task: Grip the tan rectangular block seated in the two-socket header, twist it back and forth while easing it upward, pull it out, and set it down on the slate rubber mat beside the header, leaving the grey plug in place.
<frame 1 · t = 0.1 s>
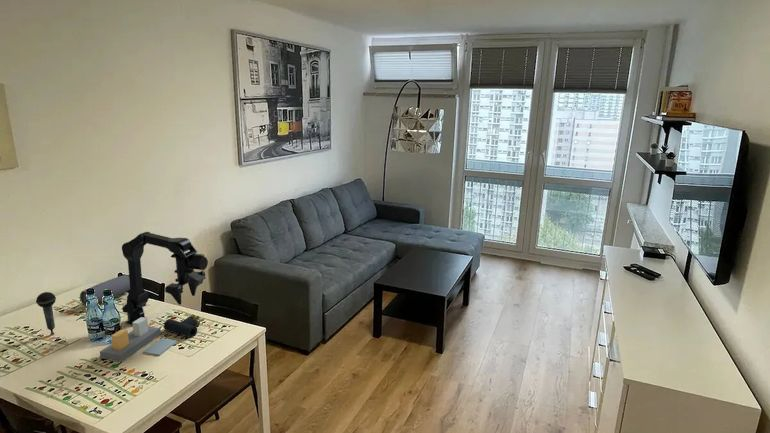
hand: (186, 300, 195), 15 cm above the table, tool pointing down, fingers open, 9 cm apart
pipe connector: (187, 330, 199), on the table
slate mat: (160, 347, 184), on the table
microphone: (52, 335, 191), on the table
grey plug: (142, 339, 190), resting in header
tan rectangular block: (122, 352, 180), resting in header
header: (132, 345, 185), on the table
bluetooth speaker: (108, 300, 225), on the table
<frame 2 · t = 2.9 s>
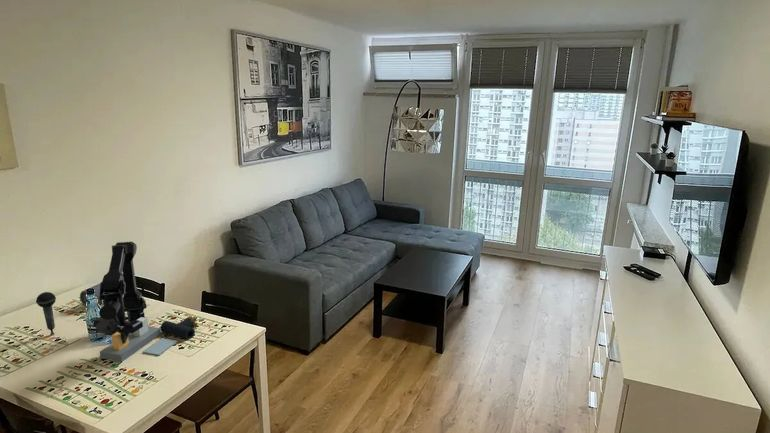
hand: (120, 342, 178), 5 cm above the table, tool pointing down, fingers closed on tan rectangular block, 3 cm apart
pipe connector: (184, 332, 197), on the table
tan rectangular block: (122, 352, 179), resting in header, touching gripper
everything else where it was.
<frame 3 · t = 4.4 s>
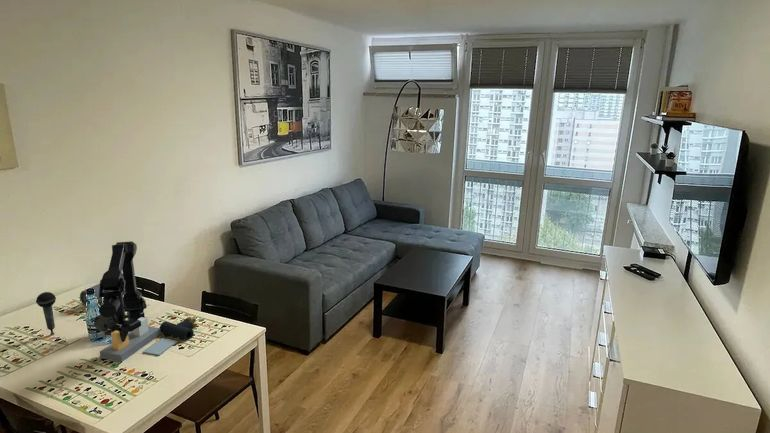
hand: (120, 340, 178), 5 cm above the table, tool pointing down, fingers closed on tan rectangular block, 3 cm apart
tan rectangular block: (121, 350, 179), point 1 cm above the table, touching gripper
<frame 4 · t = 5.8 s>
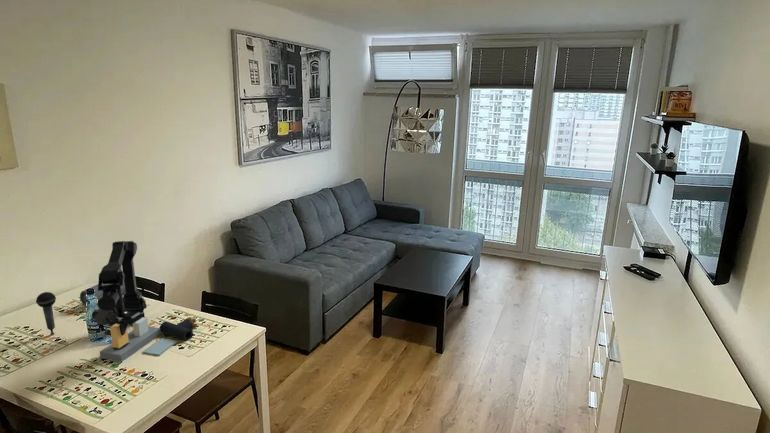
hand: (119, 334, 177), 8 cm above the table, tool pointing down, fingers closed on tan rectangular block, 3 cm apart
tan rectangular block: (120, 344, 178), point 4 cm above the table, touching gripper
everything else where it was.
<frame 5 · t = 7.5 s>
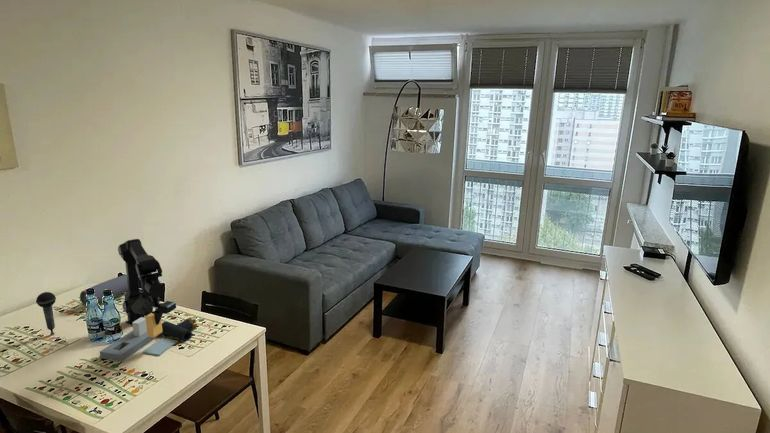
hand: (154, 323, 181), 11 cm above the table, tool pointing down, fingers closed on tan rectangular block, 3 cm apart
tan rectangular block: (155, 333, 182), point 7 cm above the table, touching gripper
when the fingers open (6 cm above the table, at t = 9.0 s): tan rectangular block drops 1 cm, resting on slate mat.
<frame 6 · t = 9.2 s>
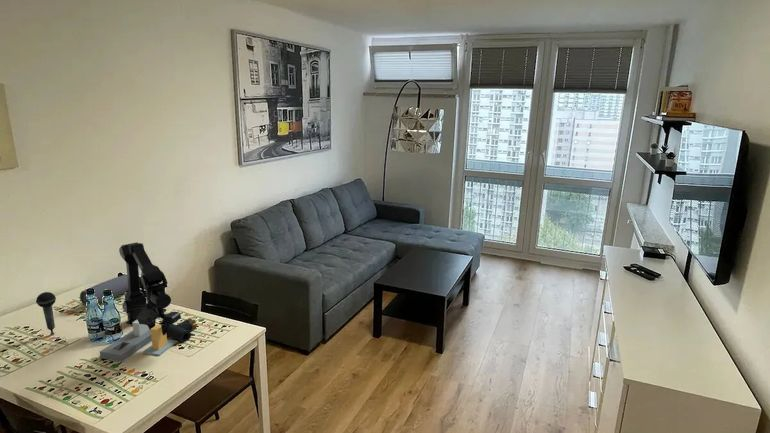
hand: (158, 334, 183), 6 cm above the table, tool pointing down, fingers open, 5 cm apart
tan rectangular block: (160, 346, 184), point 1 cm above the table, touching slate mat
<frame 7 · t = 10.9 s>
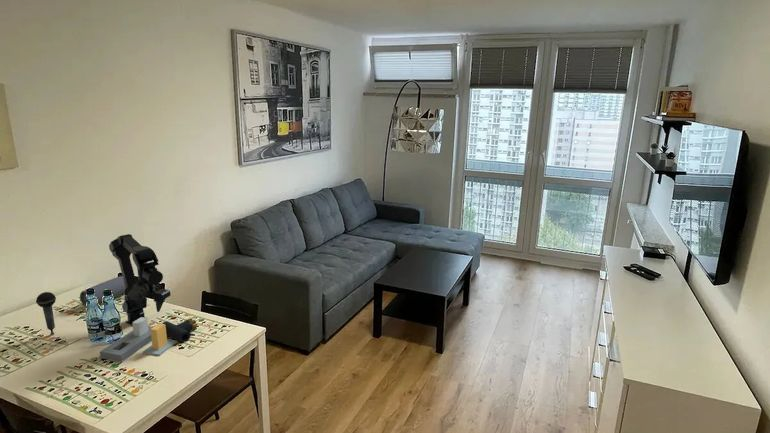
hand: (149, 310, 191), 12 cm above the table, tool pointing down, fingers open, 9 cm apart
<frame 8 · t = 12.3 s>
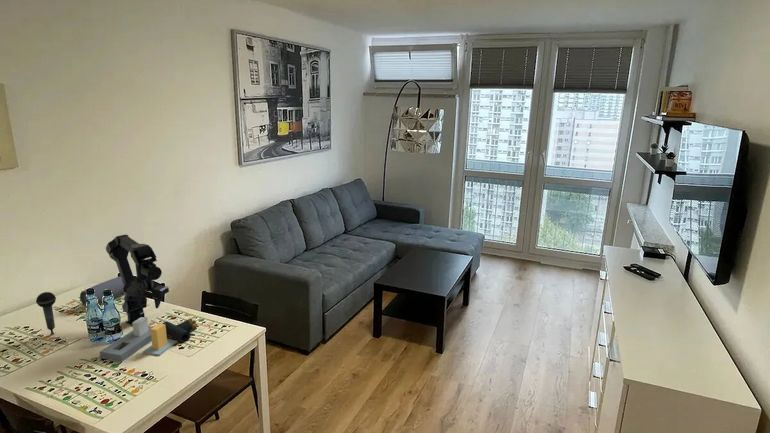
hand: (148, 306, 193), 12 cm above the table, tool pointing down, fingers open, 9 cm apart
at the end: tan rectangular block 0.1 cm from the slate mat (horizontally); tan rectangular block touching slate mat; grey plug moved 0.0 cm from its start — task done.
